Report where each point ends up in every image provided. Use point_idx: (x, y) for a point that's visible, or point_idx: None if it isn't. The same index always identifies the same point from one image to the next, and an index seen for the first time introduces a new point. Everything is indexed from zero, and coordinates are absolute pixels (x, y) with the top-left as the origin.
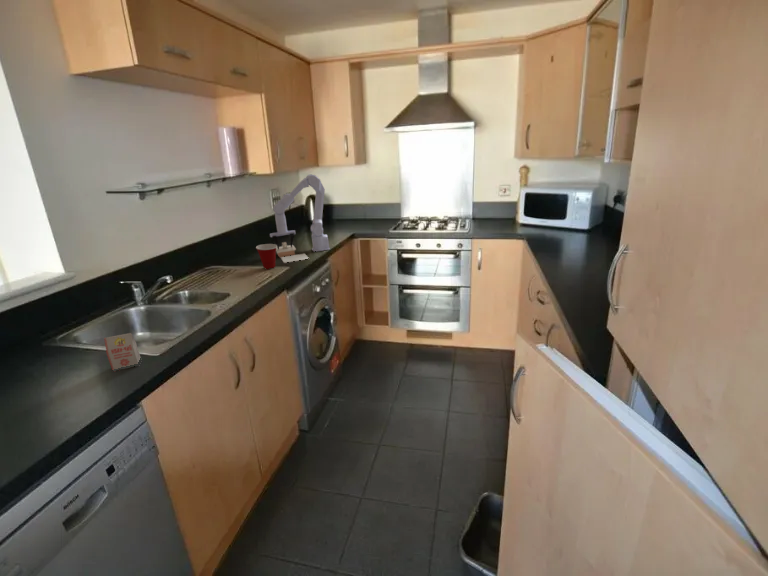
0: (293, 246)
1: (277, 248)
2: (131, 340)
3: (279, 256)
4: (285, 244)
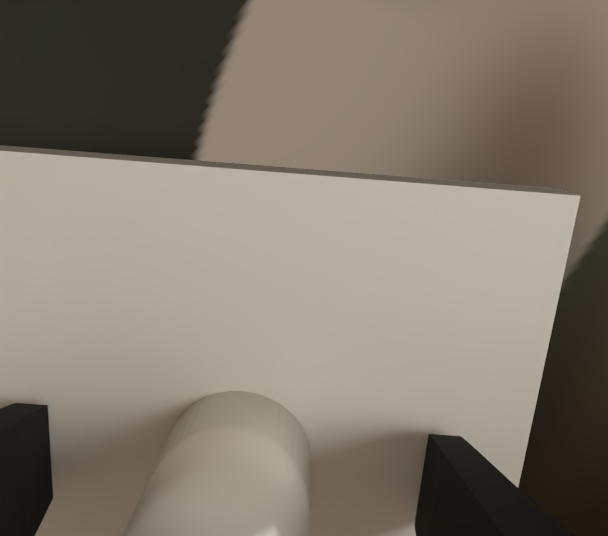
0: (507, 441)
1: (17, 355)
2: None
3: None
4: None
